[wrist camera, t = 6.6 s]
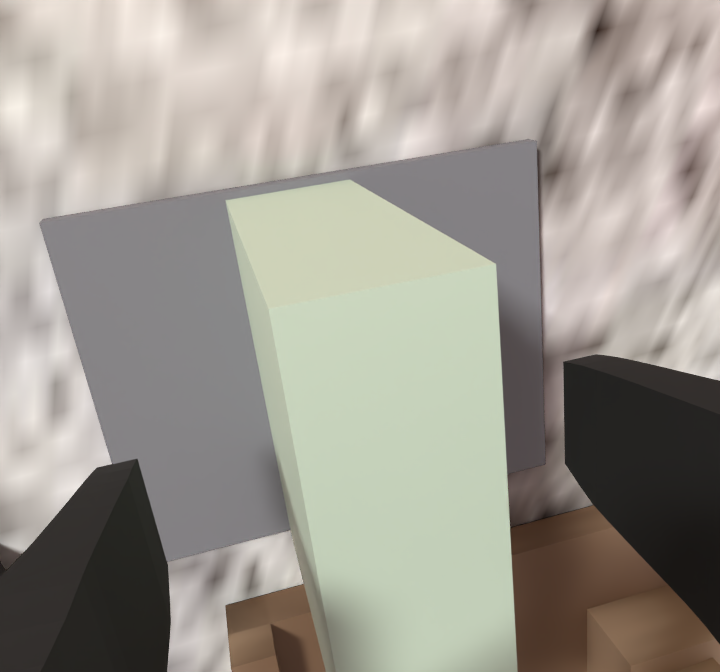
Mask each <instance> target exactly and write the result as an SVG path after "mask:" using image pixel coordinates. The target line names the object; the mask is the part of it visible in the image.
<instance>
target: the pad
mask: <svg viewBox="0 0 720 672" xmlns="http://www.w3.org/2000/svg"><path fill="white" fill-rule="evenodd" d="M344 180H352V181H353V182H355V183H357V184H359V185H360V186H362V187H364V188H365V189H367V190H369V191H371V192H372V193H374V194H376V195H378V196H379V197H381V198H383V199H385V200H386V201H388V202H390V203H391V204H393V205H395V206H397V207H398V208H400V209H402V210H404V211H405V212H407V213H409V214H410V215H412V216H414V217H416V218H417V219H419V220H421V221H423V222H424V223H426V224H428V225H430V226H431V227H433V228H435V229H436V230H438V231H440V232H442V233H443V234H445V235H447V236H449V237H450V238H452V239H454V240H455V241H457V242H459V243H461V244H462V245H464V246H466V247H468V248H469V249H471V250H473V251H475V252H476V253H478V254H480V255H481V256H483V257H485V258H487V259H488V260H490V261H492V262H494V263H495V264H496V271H497V290H498V309H499V328H500V347H501V366H502V385H503V404H504V423H505V443H506V462H507V474H510V473H514V472H518V471H521V470H525V469H529V468H533V467H537V466H541V465H545V464H546V463H545V427H544V390H543V354H542V318H541V282H540V245H539V209H538V173H537V141H534V140H528V139H527V140H521V141H515V142H509V143H503V144H497V145H491V146H485V147H479V148H472V149H466V150H460V151H454V152H448V153H442V154H436V155H430V156H424V157H418V158H412V159H405V160H399V161H393V162H387V163H381V164H375V165H369V166H363V167H357V168H351V169H345V170H339V171H332V172H326V173H320V174H314V175H308V176H302V177H296V178H290V179H284V180H278V181H272V182H265V183H259V184H253V185H247V186H241V187H235V188H229V189H223V190H217V191H211V192H205V193H199V194H192V195H186V196H180V197H174V198H168V199H162V200H156V201H150V202H144V203H138V204H132V205H125V206H119V207H113V208H107V209H101V210H95V211H89V212H83V213H77V214H71V215H65V216H59V217H52V218H46V219H43V220H42V221H41V222H40V223H39V224H40V227H41V230H42V233H43V237H44V240H45V243H46V247H47V250H48V253H49V257H50V260H51V263H52V267H53V270H54V273H55V276H56V280H57V283H58V286H59V290H60V293H61V296H62V300H63V303H64V306H65V309H66V313H67V316H68V319H69V323H70V326H71V329H72V333H73V336H74V339H75V343H76V346H77V349H78V352H79V356H80V359H81V362H82V366H83V369H84V372H85V376H86V379H87V382H88V386H89V389H90V392H91V395H92V399H93V402H94V405H95V409H96V412H97V415H98V419H99V422H100V425H101V429H102V432H103V435H104V438H105V442H106V445H107V448H108V452H109V455H110V458H111V462H112V464H116V463H120V462H124V461H129V460H133V459H138V462H139V466H140V469H141V473H142V476H143V480H144V483H145V487H146V490H147V494H148V497H149V501H150V504H151V508H152V511H153V515H154V518H155V522H156V525H157V529H158V532H159V536H160V540H161V543H162V547H163V550H164V554H165V557H166V561H171V560H175V559H179V558H183V557H187V556H191V555H195V554H199V553H202V552H206V551H210V550H214V549H218V548H222V547H226V546H230V545H234V544H238V543H241V542H245V541H249V540H253V539H257V538H261V537H265V536H269V535H273V534H276V533H280V532H284V531H288V530H291V529H290V524H289V519H288V514H287V509H286V504H285V499H284V494H283V489H282V484H281V479H280V474H279V468H278V463H277V458H276V453H275V448H274V443H273V438H272V433H271V428H270V423H269V418H268V413H267V408H266V403H265V398H264V393H263V388H262V383H261V377H260V372H259V367H258V362H257V357H256V352H255V347H254V342H253V337H252V332H251V327H250V322H249V317H248V312H247V307H246V302H245V297H244V292H243V286H242V281H241V276H240V271H239V266H238V261H237V256H236V251H235V246H234V241H233V236H232V231H231V226H230V221H229V216H228V211H227V206H226V201H225V200H230V199H236V198H242V197H248V196H254V195H260V194H266V193H272V192H278V191H284V190H290V189H296V188H302V187H308V186H314V185H320V184H326V183H332V182H338V181H344Z"/></svg>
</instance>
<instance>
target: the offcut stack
mask: <svg viewBox="0 0 720 672" xmlns="http://www.w3.org/2000/svg"><path fill="white" fill-rule="evenodd" d="M587 672H720V644H719V643H718V642H717V640H716V639H715V638H714V636H713V635H712V634H711V633H710V631H709V630H708V629H707V627H706V626H705V625H704V624H703V623H702V622H701V620H700V619H699V618H698V617H697V616H696V615H695V614H694V612H693V611H692V610H691V609H690V608H689V607H688V606H687V604H686V603H685V602H684V601H683V600H682V599H681V598H680V597H679V596H678V595H677V594H676V593H675V592H674V591H673V590H672V588H671V587H670V586H669V585H666V586H663V587H659V588H656V589H653V590H649V591H646V592H643V593H639V594H636V595H633V596H629V597H626V598H623V599H619V600H616V601H613V602H609V603H606V604H603V605H600V606H596V607H593V608H590V609H587Z"/></svg>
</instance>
